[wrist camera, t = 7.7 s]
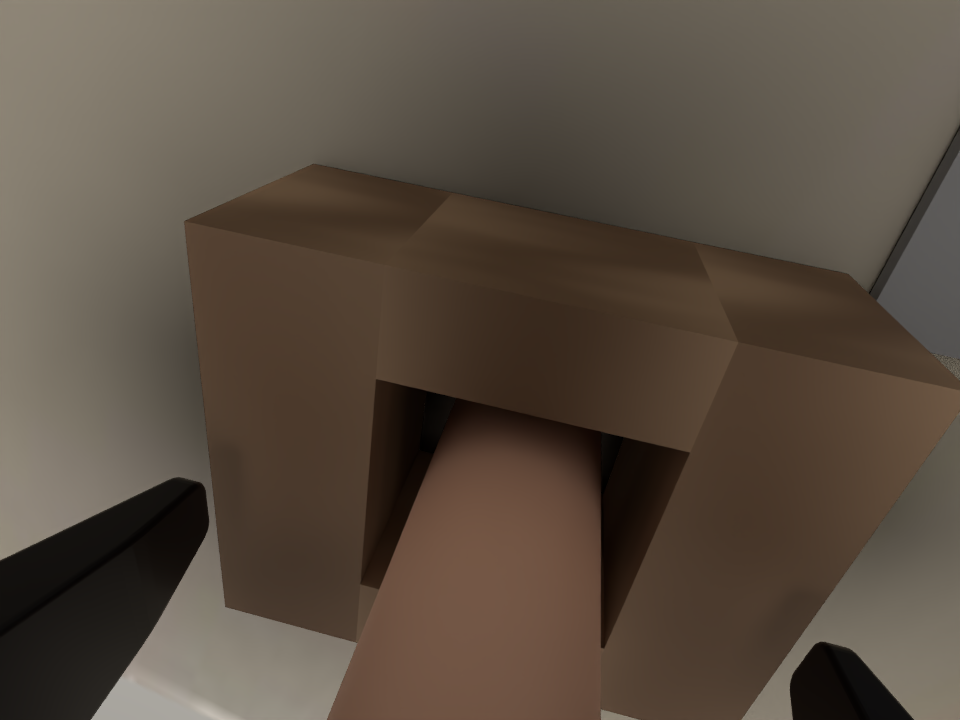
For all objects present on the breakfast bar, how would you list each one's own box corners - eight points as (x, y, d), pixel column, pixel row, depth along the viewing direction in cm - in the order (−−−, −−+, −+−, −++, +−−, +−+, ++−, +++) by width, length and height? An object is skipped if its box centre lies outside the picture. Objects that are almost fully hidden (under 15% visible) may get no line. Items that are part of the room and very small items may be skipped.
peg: (617, 351, 12) (648, 944, 4) (582, 463, 13) (554, 1049, 6) (474, 319, 12) (249, 823, 4) (456, 432, 14) (263, 955, 6)
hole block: (848, 274, 10) (972, 393, 7) (695, 573, 14) (725, 743, 11) (313, 164, 11) (183, 220, 8) (310, 477, 15) (225, 607, 12)
